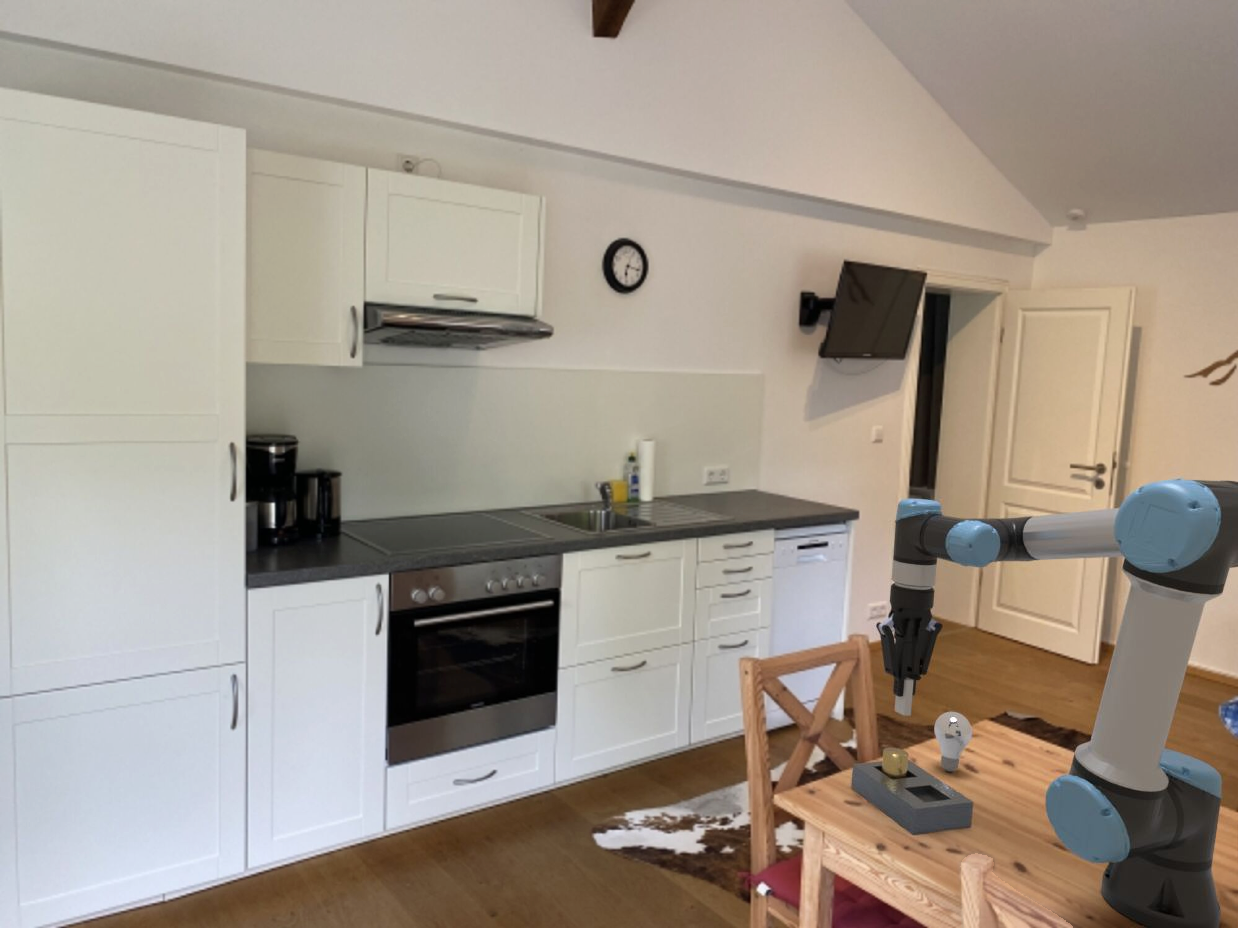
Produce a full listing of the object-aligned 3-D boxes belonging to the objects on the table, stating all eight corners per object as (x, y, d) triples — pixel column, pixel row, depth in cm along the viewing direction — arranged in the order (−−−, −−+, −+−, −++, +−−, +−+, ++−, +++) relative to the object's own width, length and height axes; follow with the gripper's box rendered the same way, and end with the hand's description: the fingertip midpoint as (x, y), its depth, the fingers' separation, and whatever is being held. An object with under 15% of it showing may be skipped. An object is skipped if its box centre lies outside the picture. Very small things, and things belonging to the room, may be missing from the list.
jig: (970, 826, 156) (973, 801, 155) (913, 834, 152) (915, 808, 151) (904, 781, 173) (906, 758, 172) (851, 787, 168) (853, 763, 168)
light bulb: (962, 766, 182) (967, 708, 181) (972, 780, 175) (978, 720, 174) (926, 762, 182) (932, 704, 181) (935, 777, 175) (941, 717, 174)
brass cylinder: (909, 798, 165) (913, 756, 165) (889, 800, 164) (893, 758, 163) (894, 788, 169) (898, 746, 169) (874, 790, 168) (878, 748, 167)
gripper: (928, 579, 168) (918, 703, 170) (869, 581, 164) (859, 708, 166) (956, 588, 161) (945, 717, 163) (895, 590, 157) (885, 722, 159)
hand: (902, 712), depth 164 cm, fingers closed
